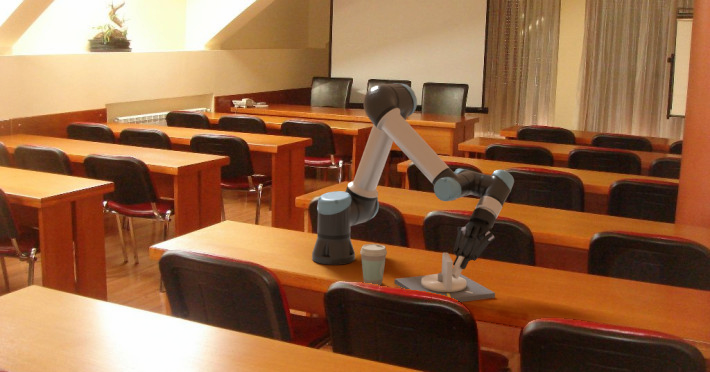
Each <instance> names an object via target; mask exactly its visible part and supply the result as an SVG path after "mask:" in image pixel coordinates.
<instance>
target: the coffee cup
mask: <svg viewBox="0 0 710 372" xmlns="http://www.w3.org/2000/svg"><path fill="white" fill-rule="evenodd" d="M359 253H360V255H361V264H362V265H361V268H362V277H363V283H364V282H365V283H372V284H378V286H381V285H382V284H383V277H384V271H385V264H386V257H387V254H388V251H387V248H386V246H385V245H382V244H377V243H367V244H364V245H362V247H361V249H360V252H359Z"/></svg>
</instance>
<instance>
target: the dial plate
mask: <svg viewBox="0 0 710 372" xmlns="http://www.w3.org/2000/svg"><path fill="white" fill-rule="evenodd" d="M427 275H428V274H427ZM427 275H420V276H419V275H417V276H408V277H401V278H395V279H394V284H395V285H396V286H398V287H399V286H400V287H399V288H401V287H402V288H405V289H411V290H419V291H426V292H431V293H436V294H441V295H445V296H448V297H451V298H454V299H456V300H458V301H460V302H459V303H464V302H470V301H477V300H487V299H494V298H496V292H494V291H493V290H491V289H489V288H487V287H486V286H483V285H482V284H480V283H478V282H477V281H474V280H473V279H470V278H469V277H468V276H466V275H463V274H462V273H461V274H460V276H459V277H462V278H464V279H465V280H466V281H467V282H466V288H465V289H464V290H461V291H457V292H437V291H432V290H428V289H426V288H424V287H423V286H422V285H421V279H422V278H423V277H424V276H427ZM402 288H401V289H402Z"/></svg>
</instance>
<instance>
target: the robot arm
mask: <svg viewBox="0 0 710 372" xmlns="http://www.w3.org/2000/svg"><path fill="white" fill-rule="evenodd" d="M362 103H363V109H364V113H365V114H366V116H367V118H368V119H369V120H370V122H371V123H372V124H373V125H372V127H371V130H370V133H369V136H368V139H367V142H366V143H365V144H366V145H365V147H364V150H363V153H362V156H361V159H360V161H359V164H358V167H357V170H356V173H355V176H354V179H353V180H352V181H350V182H348V183H347V186H346V189H345V191H341V190H340V191H329V192H326V193H323V194H321V195H320V196H319V197H318V199H317V206H316V210H317V213H316V214H317V221H316V222H317V231H316V232H317V234H316V235H317V237H316V241H315V243H314V246H313V250H312V253H311V259H312V261H314V262H315V263H317V264H321V265H333V266H336V265H337V266H339V265H347V264H351V263H353V262H354V261H355V259H356V253H355V249H354V246H353V242H352V240H351V227H353V226H357V225H359V224H363V223H366V222H369V221H370V220H372V219H373V218H374V217H375V216H376V215H377V213H378V212H379V207H380V202H379V198H378V196H379V191H378V189H377V186H378V185H379V181H380V178H381V176H382V175H383V174H382V173H383V170H384V168H385V165H386V162H387V159H388V156H389V154H390V151H391V149H392V145H393V144H394V143H395V145H396V146H397V147H398V148H399V149H400V150H401V151H402V152H403V154H405V156H406V157H408V159H409V160H410V161H411V162H412V163H413V164H414V165H415V166H416V168H418V169H419V170H420V172H421V174H423V175H424V176H425V177H426V178H427V180H428V181H429V182H430V183H431V184H432V185H433V191H434V195H435V196H436V198H437V199H439V200H440V201H442V202H452V201H455V200H457V199H460V198H464V197H466V196H469V195H471V196H476V197H480V198H479V200H478V201H477V203H476V206H475V207H474V209H473V211H472V213H471V215H470V218H469V221H468V222H467V224H465V226H462V227H461V226H459V225H458V227H457V228H456V229H457V234H456V235H457V236H456V239H455V241H454V246H453V251H452V252H453V254H454V255H455V259H454V261H453V268H452V277H453V278H455V279H458V278H459V276H460V274H462V272H463V270H465V269H466V268H467V265H468V264H469V262H470V261H477V260H478V258H479V257H480V256H481V255H482V253H483V252H484V251H485V249H486V248H487V247H488V245H489V244H490V243H491V242H493V241H494V240H495V238H496V237H495V236H494V234H493V233H492V232H491V231H492V228H493V227H494V224H495V222H496V221H497V218H498V216H499V214H500V213H501V210H502V209H503V207H504V204H505V202H506V201H507V199H508V197H509V195H510V193H511V192H512V188H513V186H514V183H515V179H514V177H513V175H512V174H511V173H509V172H508V171H505V170H504V169H503V170H502V169H495V170H494V171H493V173H492V174H491V175H490V174H485V173H481V172H477V171H473V170H469V169H468V168H467V169H466V168H465V169H464V168H457V169H455V171H453V169H451V168H450V167H449V166H448V165H447V163H446V162H445V161H444V160H443V159H442V158H441V157H440V156H439V155H438V153H436V151H435V150H434V149H433V148H432V147H431V146H430V145H429V144H428V142H426V141H425V139H424V138H423V137H422V136H421V135H420V134H419V132H417V130H415V129H414V128H413V127H412V126H411V125H410V123H409V122H408V121H407V118H408V117H410V116H411V115H412V114H414V112H415V111H416V109H417V106H418V99H417V95H416V94H415V91H414V90H413V89H412V87H410V86H409V85H407V84H404V83H399V82H396V83H395V82H394V83H389V84H376V85H374V86H371V88H369V89H368V90H367V92H366V93H365V95H364V97H363V102H362Z"/></svg>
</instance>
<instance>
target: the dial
mask: <svg viewBox="0 0 710 372" xmlns="http://www.w3.org/2000/svg"><path fill="white" fill-rule="evenodd" d="M441 259H442V260H441V272H439V273H433V274H432V273H431V274H427V276H426V275H423V276H424V277H423V278H422V279H421V285H422V286H423V287H424V288H426V289H428V290H432V291H437V292H457V291H461V290H464V289H465V288H466V282H467V281H466V280H465V279H464V278H462V277H459V278H458V279H455V278H453V277H452V269H453V267H454V265H453V263H454V261H453V260H452V258H451V256H450V254H449V252H442V257H441Z"/></svg>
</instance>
